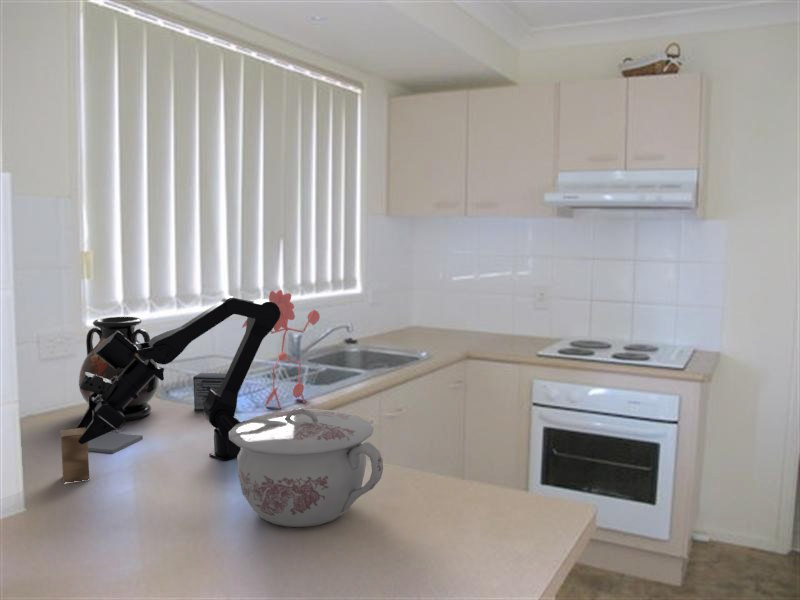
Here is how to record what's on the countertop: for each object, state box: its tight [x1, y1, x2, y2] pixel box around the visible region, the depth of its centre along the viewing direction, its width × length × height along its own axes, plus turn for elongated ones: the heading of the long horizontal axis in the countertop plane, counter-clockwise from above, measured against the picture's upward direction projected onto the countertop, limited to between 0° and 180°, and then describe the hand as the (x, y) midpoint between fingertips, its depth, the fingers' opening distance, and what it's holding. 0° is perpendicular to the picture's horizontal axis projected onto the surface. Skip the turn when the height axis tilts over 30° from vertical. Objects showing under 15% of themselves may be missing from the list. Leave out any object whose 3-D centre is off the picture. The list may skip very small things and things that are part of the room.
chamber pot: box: [229, 407, 384, 528], centre depth 136 cm, size 28×28×21 cm
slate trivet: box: [88, 432, 144, 454], centre depth 178 cm, size 12×12×1 cm
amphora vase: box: [78, 316, 160, 422], centre depth 202 cm, size 22×22×28 cm
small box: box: [192, 372, 227, 412], centre depth 211 cm, size 11×6×10 cm, turn 84°
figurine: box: [241, 289, 321, 409], centre depth 218 cm, size 15×26×35 cm, turn 135°
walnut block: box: [59, 427, 90, 484], centre depth 154 cm, size 5×5×10 cm
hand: (78, 436), depth 154 cm, fingers open, 9 cm apart
